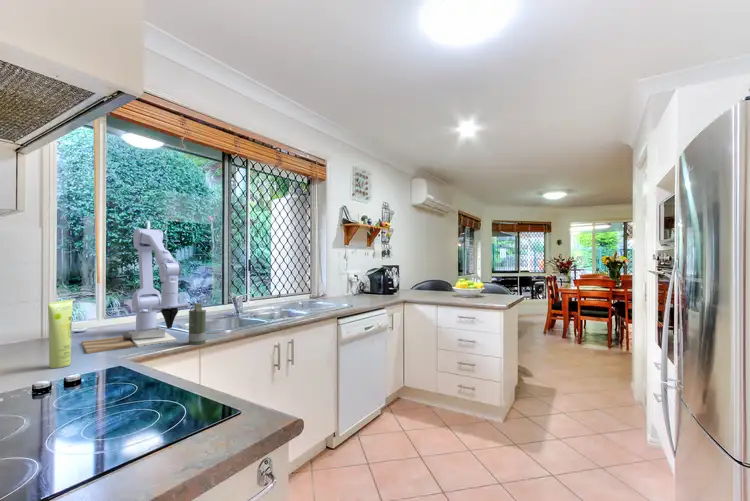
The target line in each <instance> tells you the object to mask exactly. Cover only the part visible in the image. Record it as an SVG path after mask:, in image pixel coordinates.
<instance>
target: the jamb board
mask: <svg viewBox="0 0 750 501" xmlns="http://www.w3.org/2000/svg"><path fill="white" fill-rule="evenodd" d="M131 341H132V339H131V340H123V335H122V336H115V337H107V338H100V339H99V338H98V339H91V340H83V341H81V345H82V348H83V349H84V352H85V354H86V355H87V354H95V353H101V352H109V351H117V350H124V349H131V348H130V347H132V348H134V347H135V344H134V343H133V342H131Z"/></svg>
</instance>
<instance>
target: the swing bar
mask: <svg viewBox="0 0 750 501" xmlns="http://www.w3.org/2000/svg"><path fill="white" fill-rule="evenodd" d="M122 332H123V333H122V336H123V340H131V339H143V338H154V337H165V332H166V328H159V329H157V330H144V331H133V330H124V331H122Z"/></svg>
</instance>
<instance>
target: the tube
mask: <svg viewBox="0 0 750 501" xmlns="http://www.w3.org/2000/svg"><path fill="white" fill-rule="evenodd" d="M73 303H74V300H73V298H72V299H66V300H65V299H64V300H59V301H52V302H48V303H47V310H48V312H47V314H48V342H49V343H48V350H49V351H48V367H49V368H50V369H60V368H64V367H68V366H70V365H71V362H72V360H71V357H72V325H73V322H72V321H73V320H72V319H73V307H74V306H73Z"/></svg>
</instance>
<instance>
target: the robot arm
mask: <svg viewBox="0 0 750 501" xmlns="http://www.w3.org/2000/svg"><path fill="white" fill-rule="evenodd" d="M132 235H133V237H132V240H133V248H134V249H135V250H137V254H138V272H139V273H138V274H139V275H138V276H139V289H137V290H136V291H135V292H134V293H133V294H132V300H131V308H132V310H133V311H134V312H135V313H136V317H135V329H132V331H141V329H147V328H156V327H157V312H159V311H160V312H161V314H162V316H163V319H164V322H165V326H166V329H173V324H174V321H175V318H176V316H177V314H178V313H179V310H180V309H186V308H187V309H191V303H190V302H179V277H181V275H182V265H181V263H180V262H179V261H176V260H175V259H174V257H173V255H172V254H171V252H170V251H169V250H168V249H166V248H165V246H164V244H163V240H164V233H163V231H162V229H159V228H158V229H153V228H150V229H149V228H139V227H137V228H135V229H134V232H133V234H132ZM153 251H154V253H155V254H154V260H155V262H156V263H157V265H158V267H159V268H158V274H159V279H160V282H161V292H160V291H159V290H157V289H156V288H154V274H153V272H154V271H153V257H152V256H153V255H152V254H153Z"/></svg>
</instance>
